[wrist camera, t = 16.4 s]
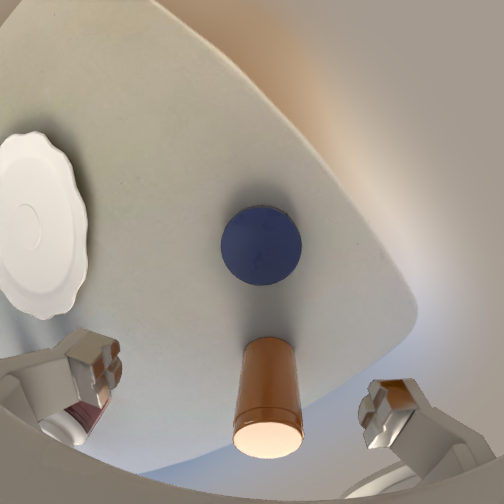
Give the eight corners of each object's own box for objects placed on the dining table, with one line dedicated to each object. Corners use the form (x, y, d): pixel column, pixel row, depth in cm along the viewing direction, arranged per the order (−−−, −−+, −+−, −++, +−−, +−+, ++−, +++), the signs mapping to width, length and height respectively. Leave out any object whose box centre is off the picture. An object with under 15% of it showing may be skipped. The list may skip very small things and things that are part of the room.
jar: (303, 364, 26) (315, 447, 16) (259, 383, 27) (255, 465, 17) (279, 328, 25) (283, 411, 15) (233, 350, 26) (216, 432, 16)
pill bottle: (71, 359, 28) (23, 412, 18) (112, 379, 29) (70, 442, 18) (75, 390, 30) (36, 441, 20) (112, 409, 30) (79, 467, 20)
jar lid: (256, 188, 22) (255, 189, 21) (315, 237, 23) (318, 241, 21) (209, 247, 24) (205, 253, 22) (266, 292, 24) (266, 300, 23)
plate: (-12, 138, 21) (-20, 139, 20) (105, 128, 21) (96, 126, 20) (-7, 289, 27) (-15, 293, 25) (101, 333, 27) (93, 341, 25)
